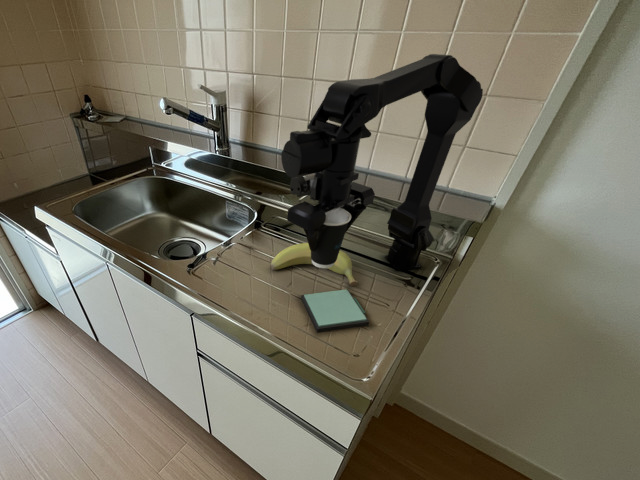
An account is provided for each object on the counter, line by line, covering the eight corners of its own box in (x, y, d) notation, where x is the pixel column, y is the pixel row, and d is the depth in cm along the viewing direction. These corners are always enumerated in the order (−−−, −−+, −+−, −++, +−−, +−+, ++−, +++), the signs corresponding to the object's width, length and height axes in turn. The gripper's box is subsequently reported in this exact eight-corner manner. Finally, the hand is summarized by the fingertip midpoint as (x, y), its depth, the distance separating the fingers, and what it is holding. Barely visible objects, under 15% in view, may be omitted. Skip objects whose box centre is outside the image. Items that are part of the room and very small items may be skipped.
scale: (349, 292, 78) (350, 287, 77) (370, 325, 69) (372, 320, 68) (300, 299, 76) (301, 293, 75) (316, 333, 68) (317, 327, 67)
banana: (301, 226, 87) (371, 262, 78) (301, 241, 92) (367, 276, 83) (267, 258, 83) (337, 300, 74) (268, 272, 87) (335, 313, 78)
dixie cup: (301, 252, 76) (306, 206, 69) (337, 251, 76) (345, 205, 68) (307, 273, 70) (313, 224, 62) (346, 272, 69) (356, 223, 62)
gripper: (336, 146, 69) (326, 217, 79) (268, 167, 60) (266, 243, 70) (384, 159, 62) (366, 234, 72) (315, 185, 53) (305, 266, 63)
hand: (326, 243), depth 70 cm, fingers closed on dixie cup, 8 cm apart
